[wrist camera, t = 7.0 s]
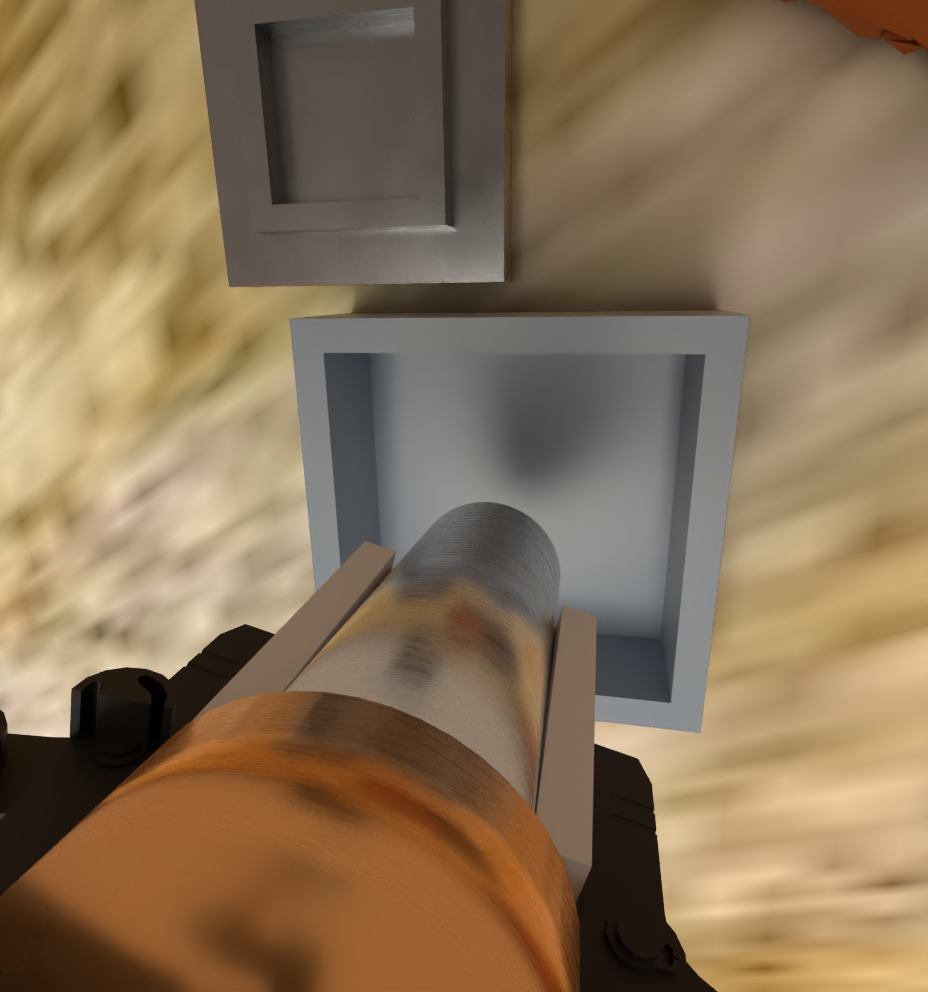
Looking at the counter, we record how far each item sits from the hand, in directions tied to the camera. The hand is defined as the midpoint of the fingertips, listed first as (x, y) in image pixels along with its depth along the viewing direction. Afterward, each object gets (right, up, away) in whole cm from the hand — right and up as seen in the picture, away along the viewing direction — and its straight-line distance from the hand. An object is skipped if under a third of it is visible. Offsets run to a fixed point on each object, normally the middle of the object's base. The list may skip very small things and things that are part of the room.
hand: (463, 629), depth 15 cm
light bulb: (+1, +1, +3) cm, 3 cm away
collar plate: (-3, +16, +7) cm, 17 cm away
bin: (+2, +3, +10) cm, 11 cm away
